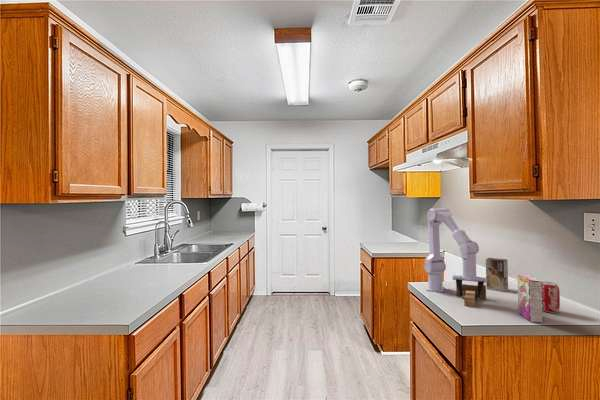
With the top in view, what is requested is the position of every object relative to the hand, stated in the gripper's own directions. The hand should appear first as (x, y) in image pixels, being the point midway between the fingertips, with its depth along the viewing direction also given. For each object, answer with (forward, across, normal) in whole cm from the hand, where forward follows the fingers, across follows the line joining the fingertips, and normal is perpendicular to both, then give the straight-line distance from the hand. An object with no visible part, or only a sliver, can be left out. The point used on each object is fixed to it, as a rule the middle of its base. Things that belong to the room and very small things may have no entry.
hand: (470, 296), depth 163 cm
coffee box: (+3, +12, +31) cm, 33 cm away
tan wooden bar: (+3, 0, 0) cm, 3 cm away
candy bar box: (+3, +22, -13) cm, 26 cm away
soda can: (+3, +30, 0) cm, 31 cm away
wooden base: (+3, 0, +7) cm, 8 cm away
